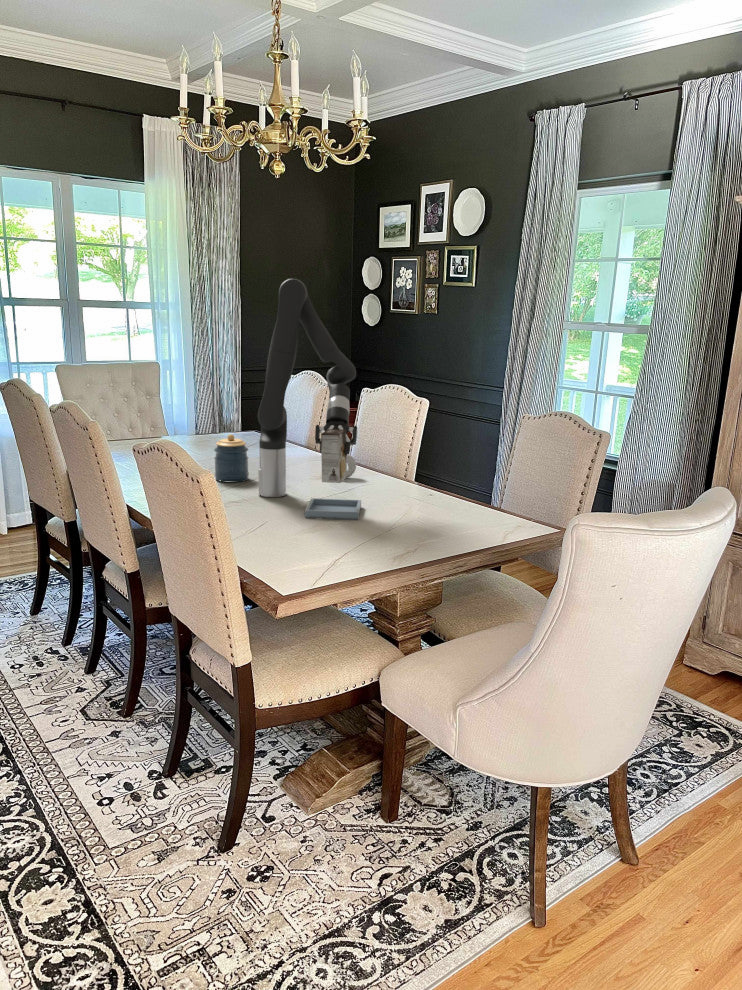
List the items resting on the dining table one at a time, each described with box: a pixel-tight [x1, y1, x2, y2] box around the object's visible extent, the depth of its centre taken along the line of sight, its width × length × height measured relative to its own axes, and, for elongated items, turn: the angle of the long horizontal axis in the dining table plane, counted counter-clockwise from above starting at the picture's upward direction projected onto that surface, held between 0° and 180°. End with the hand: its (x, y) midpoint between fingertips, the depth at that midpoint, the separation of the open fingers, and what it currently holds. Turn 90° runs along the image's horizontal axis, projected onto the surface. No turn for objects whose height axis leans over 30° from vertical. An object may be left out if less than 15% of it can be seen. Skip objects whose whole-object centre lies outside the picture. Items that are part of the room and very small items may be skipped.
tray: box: [304, 497, 362, 521], centre depth 247 cm, size 17×16×2 cm
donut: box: [345, 453, 357, 479], centre depth 296 cm, size 10×4×10 cm, turn 109°
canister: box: [213, 433, 250, 482], centre depth 289 cm, size 13×13×18 cm
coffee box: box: [320, 429, 348, 484], centre depth 243 cm, size 9×6×16 cm
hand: (334, 453), depth 242 cm, fingers closed on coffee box, 7 cm apart
